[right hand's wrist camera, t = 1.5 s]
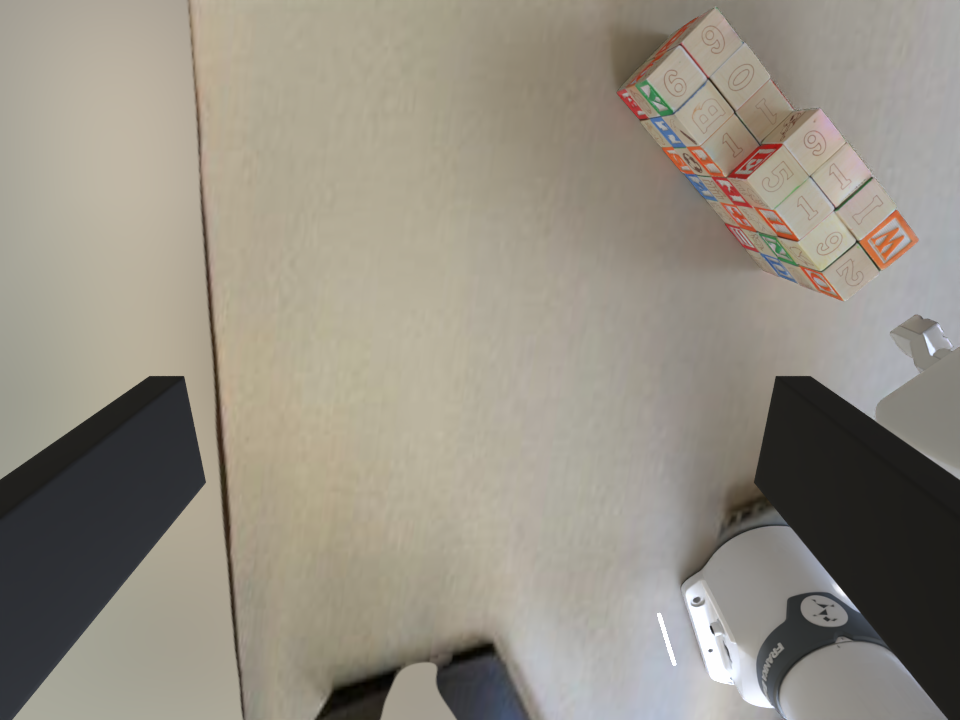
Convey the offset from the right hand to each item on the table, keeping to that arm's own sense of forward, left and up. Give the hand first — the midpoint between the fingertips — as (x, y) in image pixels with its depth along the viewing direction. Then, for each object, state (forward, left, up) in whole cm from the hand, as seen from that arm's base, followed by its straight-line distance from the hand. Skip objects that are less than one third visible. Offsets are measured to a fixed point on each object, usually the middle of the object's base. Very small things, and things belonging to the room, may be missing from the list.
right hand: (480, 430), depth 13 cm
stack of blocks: (-11, +19, -40) cm, 45 cm away
